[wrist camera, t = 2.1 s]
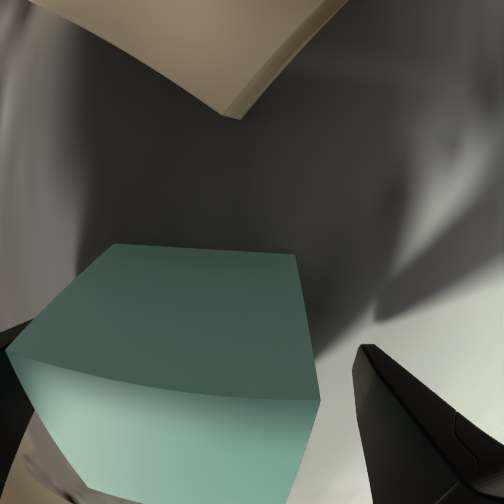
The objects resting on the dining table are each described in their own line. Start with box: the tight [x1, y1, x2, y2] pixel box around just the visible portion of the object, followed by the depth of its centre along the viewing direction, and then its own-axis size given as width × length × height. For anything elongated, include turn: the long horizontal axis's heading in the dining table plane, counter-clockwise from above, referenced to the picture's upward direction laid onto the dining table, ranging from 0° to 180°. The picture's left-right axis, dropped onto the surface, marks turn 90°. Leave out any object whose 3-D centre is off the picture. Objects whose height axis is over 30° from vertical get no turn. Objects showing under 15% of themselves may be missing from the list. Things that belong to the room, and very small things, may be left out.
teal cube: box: [5, 243, 321, 504], centre depth 7 cm, size 5×5×5 cm
